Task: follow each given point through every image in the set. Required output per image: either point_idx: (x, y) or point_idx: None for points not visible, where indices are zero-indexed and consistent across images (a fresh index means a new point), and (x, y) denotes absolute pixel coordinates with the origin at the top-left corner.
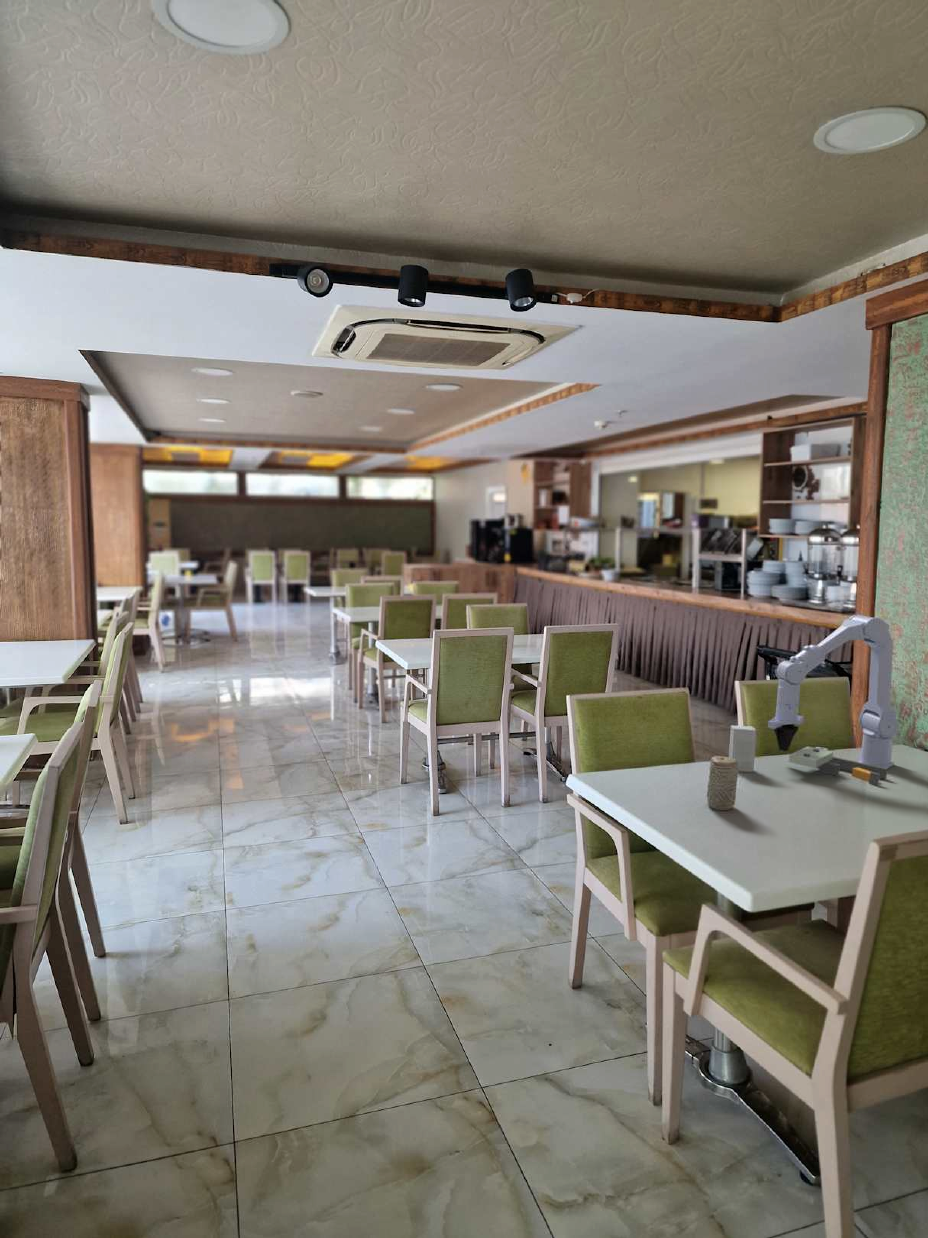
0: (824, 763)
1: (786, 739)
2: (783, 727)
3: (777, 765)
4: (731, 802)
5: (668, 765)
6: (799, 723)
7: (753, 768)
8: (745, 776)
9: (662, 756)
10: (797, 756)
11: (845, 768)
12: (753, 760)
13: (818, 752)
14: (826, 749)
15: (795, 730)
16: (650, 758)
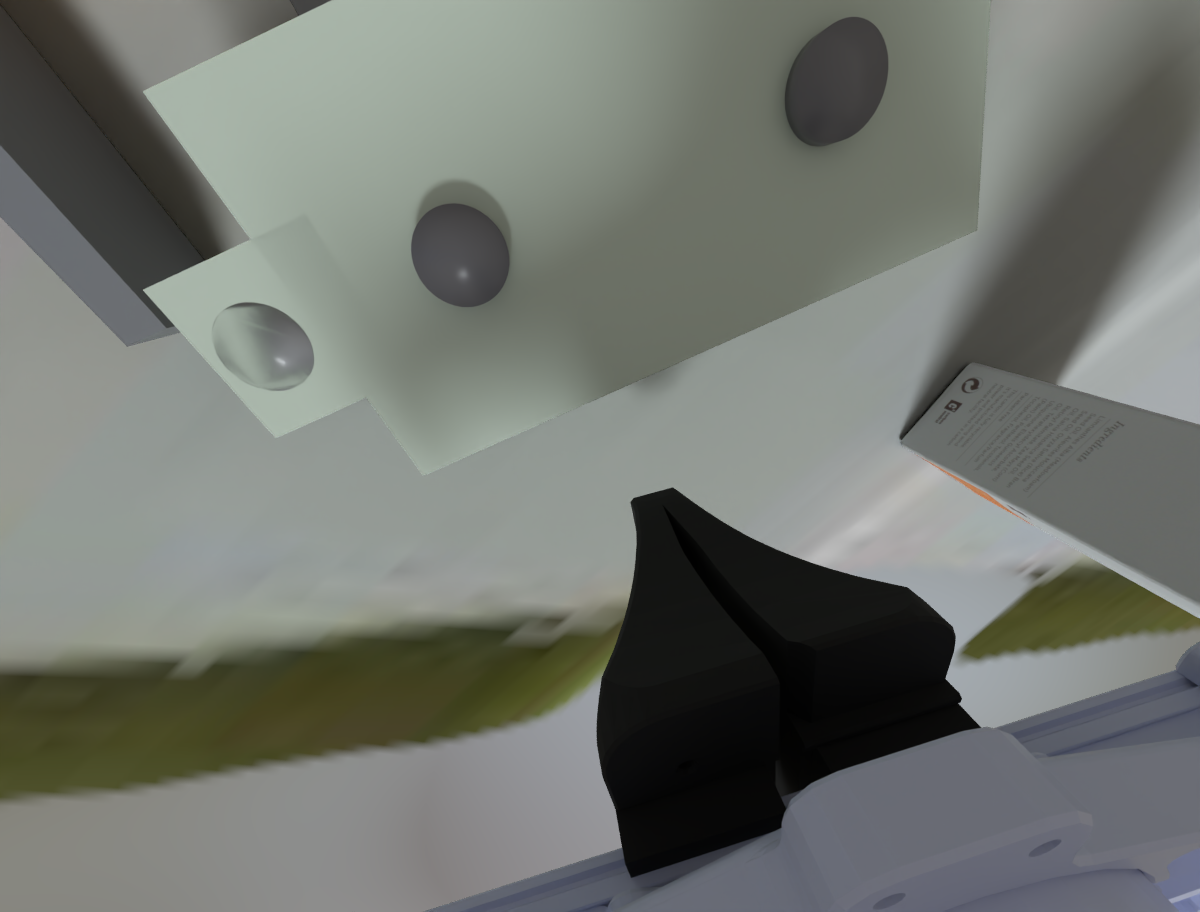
0: None
1: (763, 549)
2: (947, 713)
3: (676, 447)
4: None
5: None
6: (902, 781)
7: (995, 368)
8: (1083, 309)
9: (1035, 646)
10: (981, 115)
11: (58, 106)
12: (1066, 388)
13: (486, 175)
14: (195, 278)
15: (698, 652)
16: (1096, 631)
